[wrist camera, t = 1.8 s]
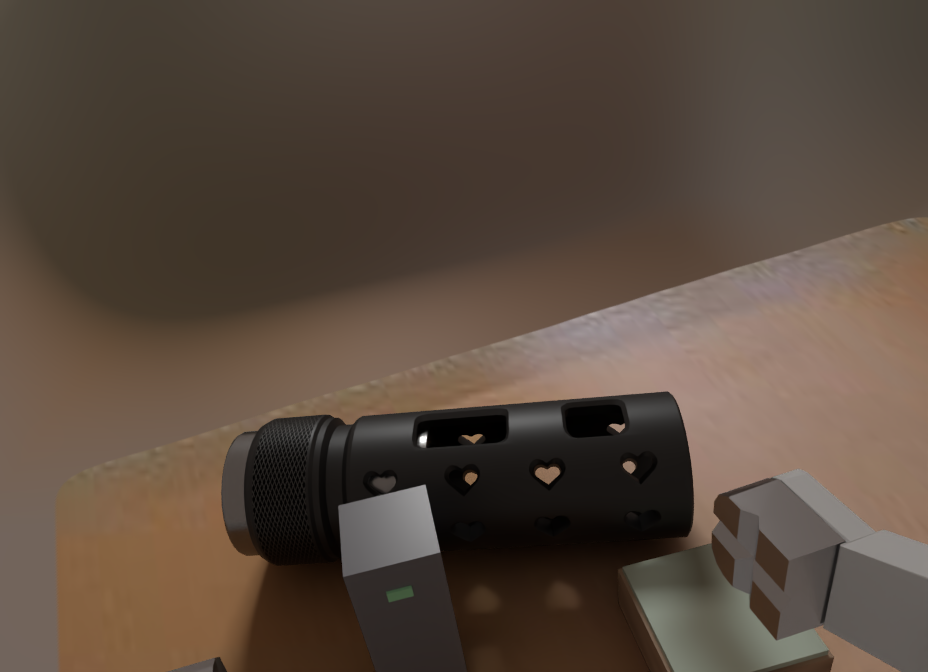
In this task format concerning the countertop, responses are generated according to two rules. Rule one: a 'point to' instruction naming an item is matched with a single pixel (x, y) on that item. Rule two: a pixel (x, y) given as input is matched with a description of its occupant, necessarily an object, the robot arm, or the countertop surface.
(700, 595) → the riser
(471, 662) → the countertop surface
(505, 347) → the countertop surface
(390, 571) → the charger
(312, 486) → the muzzle brake
